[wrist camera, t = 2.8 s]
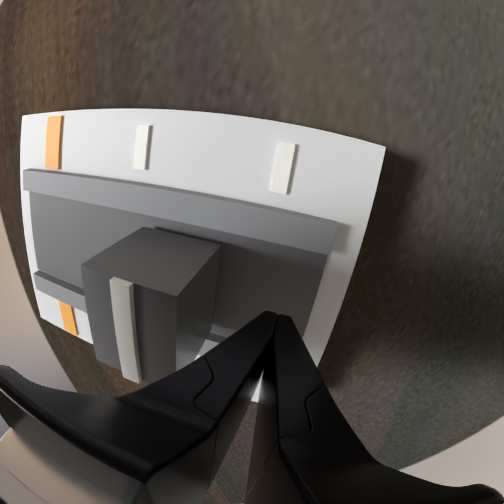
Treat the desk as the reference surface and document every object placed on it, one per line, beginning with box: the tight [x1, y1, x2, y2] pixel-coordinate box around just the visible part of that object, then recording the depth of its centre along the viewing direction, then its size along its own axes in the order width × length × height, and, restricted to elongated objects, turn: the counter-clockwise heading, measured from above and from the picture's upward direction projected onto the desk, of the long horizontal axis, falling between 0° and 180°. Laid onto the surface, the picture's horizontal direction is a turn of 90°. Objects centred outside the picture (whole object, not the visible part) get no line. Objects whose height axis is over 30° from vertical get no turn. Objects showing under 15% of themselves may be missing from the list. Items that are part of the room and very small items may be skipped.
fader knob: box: [80, 227, 221, 384], centre depth 9 cm, size 4×3×4 cm
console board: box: [20, 109, 386, 402], centre depth 12 cm, size 12×16×2 cm
